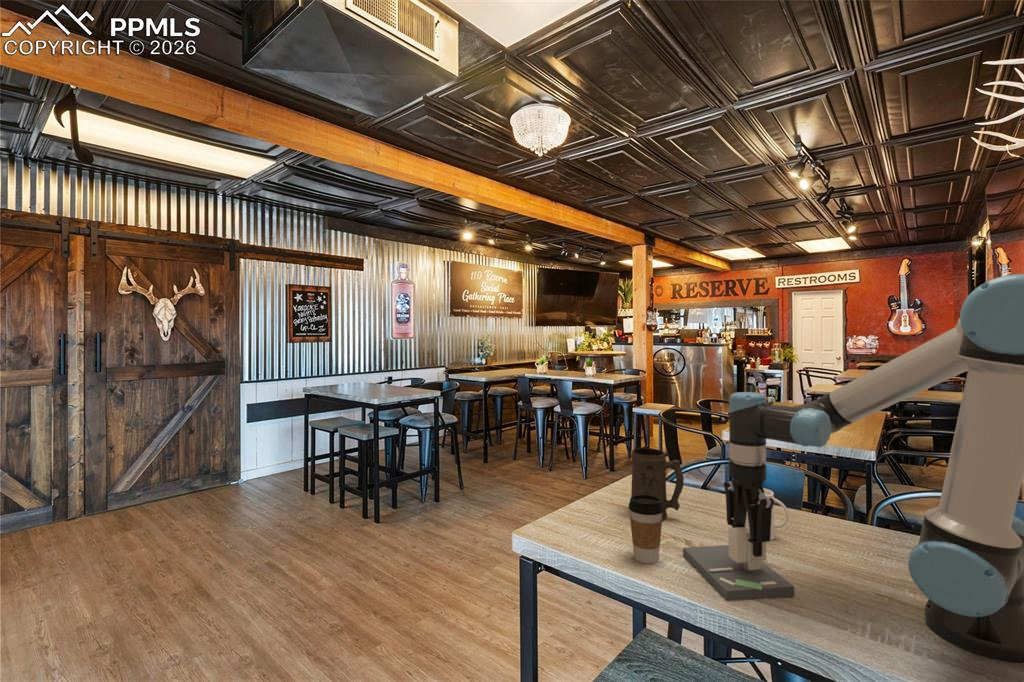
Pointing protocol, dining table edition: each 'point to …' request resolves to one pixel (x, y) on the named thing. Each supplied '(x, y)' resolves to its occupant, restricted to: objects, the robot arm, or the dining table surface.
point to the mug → (772, 513)
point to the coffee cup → (646, 527)
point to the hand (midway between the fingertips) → (747, 564)
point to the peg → (740, 547)
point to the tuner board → (736, 575)
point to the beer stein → (655, 476)
